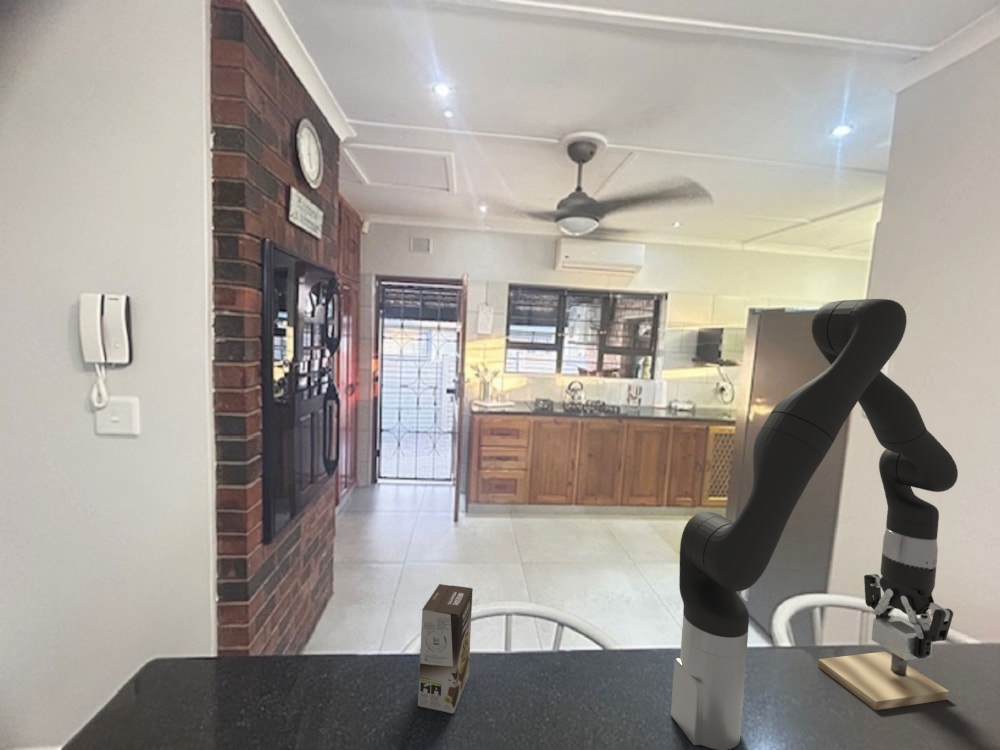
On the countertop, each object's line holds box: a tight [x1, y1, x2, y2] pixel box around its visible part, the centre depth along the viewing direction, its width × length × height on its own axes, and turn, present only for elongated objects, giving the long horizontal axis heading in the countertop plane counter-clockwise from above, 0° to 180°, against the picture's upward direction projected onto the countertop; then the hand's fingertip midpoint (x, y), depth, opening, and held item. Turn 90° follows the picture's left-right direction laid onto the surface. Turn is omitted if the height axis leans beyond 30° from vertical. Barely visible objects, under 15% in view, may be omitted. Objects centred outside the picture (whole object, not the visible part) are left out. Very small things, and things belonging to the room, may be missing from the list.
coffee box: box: [417, 583, 473, 714], centre depth 78 cm, size 9×6×16 cm
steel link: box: [871, 616, 934, 661], centre depth 86 cm, size 6×6×4 cm
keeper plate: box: [817, 651, 950, 711], centre depth 86 cm, size 16×11×6 cm
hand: (900, 645), depth 86 cm, fingers closed on steel link, 6 cm apart
